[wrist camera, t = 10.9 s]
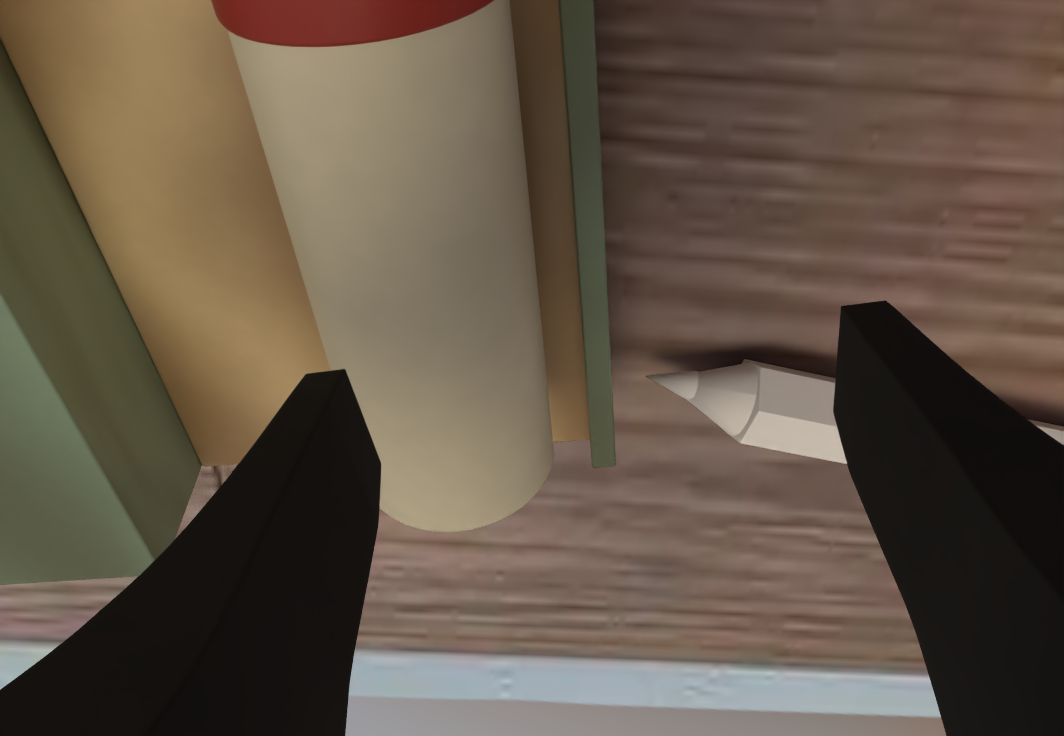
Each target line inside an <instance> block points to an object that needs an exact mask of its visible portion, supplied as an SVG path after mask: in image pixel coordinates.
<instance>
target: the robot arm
mask: <svg viewBox="0 0 1064 736" xmlns="http://www.w3.org/2000/svg"><path fill="white" fill-rule="evenodd" d="M833 413H834V417H835V421H836V425H837V429H838V432H839V436H840V440H841V444H842V447H843V451H844V454H845V458H846V461H847V465H848V468H849V472H850V474H851V477H852V479H853V482H854V484H855V487H856V489H857V492H858V494H859V496H860V499H861V501H862V503H863V506H864V508H865V511H866V513H867V515H868V518H869V520H870V522H871V525H872V527H873V529H874V532H875V534H876V537H877V539H878V541H879V544H880V546H881V548H882V551H883V553H884V555H885V558H886V560H887V562H888V565H889V567H890V569H891V572H892V574H893V576H894V579H895V581H896V583H897V586H898V588H899V590H900V593H901V595H902V597H903V600H904V602H905V605H906V607H907V610H908V613H909V615H910V618H911V621H912V623H913V626H914V629H915V631H916V634H917V638H918V641H919V644H920V648H921V651H922V654H923V657H924V661H925V664H926V667H927V670H928V674H929V677H930V680H931V684H932V687H933V690H934V693H935V697H936V700H937V704H938V707H939V711H940V714H941V718H942V721H943V724H944V728H945V732H946V735H947V736H1064V445H1063V444H1061V443H1060V442H1058V441H1057V440H1055V439H1054V438H1052V437H1051V436H1050V435H1048V434H1047V433H1045V432H1044V431H1043V430H1041V429H1040V428H1038V427H1037V426H1036V425H1034V424H1033V423H1032V422H1030V421H1029V420H1027V419H1026V418H1025V417H1023V416H1022V415H1020V414H1019V413H1018V412H1016V411H1015V410H1014V409H1012V408H1011V407H1010V406H1009V405H1007V404H1006V403H1005V402H1003V401H1002V400H1001V399H1000V398H998V397H997V396H996V395H995V394H993V393H992V392H991V391H990V390H989V389H987V388H986V387H985V386H984V385H982V384H981V383H980V382H979V381H977V380H976V379H975V378H974V377H973V376H971V375H970V374H969V373H968V372H966V371H965V370H964V369H963V368H962V367H961V366H959V365H958V364H957V363H956V362H955V361H954V360H952V359H951V358H950V357H949V356H948V355H947V354H946V353H944V352H943V351H942V350H941V349H940V348H939V347H938V346H936V345H935V344H934V343H933V342H932V341H931V340H930V339H929V338H927V337H926V336H925V335H924V334H923V333H922V332H921V331H920V330H919V329H917V328H916V327H915V326H914V325H913V324H912V323H911V322H910V321H909V320H907V319H906V318H905V317H904V316H903V315H902V314H901V313H900V312H899V311H897V310H896V309H895V308H894V307H893V306H892V305H890V304H889V303H888V302H887V301H878V302H870V303H863V304H855V305H847V306H841V315H840V328H839V341H838V354H837V367H836V380H835V393H834V405H833ZM380 487H381V461H380V459H379V456H378V453H377V451H376V448H375V446H374V443H373V440H372V438H371V435H370V432H369V430H368V427H367V425H366V422H365V419H364V417H363V414H362V412H361V409H360V406H359V404H358V401H357V398H356V396H355V393H354V391H353V388H352V385H351V383H350V380H349V377H348V375H347V372H346V370H345V369H340V370H332V371H324V372H316V373H308V374H305V376H304V377H303V378H302V379H301V381H300V382H299V383H298V385H297V386H296V387H295V389H294V390H293V391H292V393H291V394H290V395H289V397H288V398H287V399H286V401H285V402H284V404H283V405H282V406H281V408H280V409H279V410H278V412H277V413H276V414H275V416H274V417H273V419H272V420H271V421H270V423H269V424H268V425H267V427H266V428H265V430H264V431H263V432H262V434H261V435H260V436H259V438H258V439H257V440H256V442H255V443H254V444H253V446H252V447H251V448H250V450H249V451H248V452H247V454H246V455H245V456H244V457H243V459H242V460H241V461H240V463H239V464H238V465H237V467H236V468H235V469H234V471H233V472H232V473H231V474H230V476H229V477H228V478H227V480H226V481H225V482H224V483H223V484H222V486H221V487H220V488H219V489H218V490H217V492H216V493H215V494H214V495H213V496H212V498H211V499H210V500H209V501H208V502H207V503H206V505H205V506H204V507H203V508H202V509H201V511H200V512H199V513H198V514H197V515H196V517H195V518H194V519H193V520H192V521H191V522H190V524H189V525H188V526H187V527H186V528H185V529H184V530H183V531H182V532H181V534H180V535H179V536H178V537H177V538H176V539H175V540H174V541H173V542H172V543H171V544H170V545H169V546H168V547H167V548H166V549H165V551H164V552H163V553H162V554H161V555H160V556H159V557H157V558H156V559H155V560H154V561H153V562H152V563H151V564H150V565H149V566H148V567H147V568H146V569H145V570H144V571H143V572H142V573H141V574H140V575H139V576H138V577H137V578H136V579H135V580H134V581H133V582H132V583H131V584H130V585H129V586H128V587H127V588H126V589H124V590H123V591H122V592H121V593H120V594H119V595H118V596H116V597H115V598H114V599H113V600H112V601H111V602H110V603H108V604H107V605H106V606H105V607H104V608H103V609H102V610H100V611H99V612H98V613H97V614H96V615H95V616H94V617H93V618H91V619H90V620H89V621H88V622H87V623H86V624H85V625H83V626H82V627H81V628H80V629H79V630H78V631H76V632H75V633H74V634H73V635H72V636H70V637H69V638H68V639H67V640H65V641H64V642H63V643H62V644H60V645H59V646H58V647H57V648H55V649H54V650H53V651H51V652H50V653H49V654H48V655H46V656H45V657H44V658H43V659H41V660H40V661H39V662H37V663H36V664H35V665H33V666H32V667H31V668H29V669H28V670H27V671H25V672H24V673H22V674H21V675H20V676H18V677H17V678H16V679H14V680H13V681H12V682H10V683H9V684H8V685H6V686H5V687H3V688H2V689H1V690H0V736H345V729H346V718H347V706H348V694H349V683H350V676H351V670H352V663H353V656H354V651H355V645H356V640H357V635H358V630H359V625H360V619H361V614H362V609H363V604H364V599H365V593H366V588H367V583H368V578H369V573H370V567H371V562H372V556H373V551H374V546H375V540H376V534H377V529H378V521H379V506H380Z"/></svg>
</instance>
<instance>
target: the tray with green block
mask: <svg viewBox="0 0 1064 736" xmlns="http://www.w3.org/2000/svg"><path fill="white" fill-rule="evenodd" d="M510 10H511V20H512V30H513V40H514V51H515V61H516V71H517V81H518V91H519V101H520V112H521V122H522V132H523V142H524V152H525V163H526V173H527V183H528V193H529V203H530V213H531V224H532V234H533V244H534V254H535V264H536V274H537V285H538V295H539V305H540V315H541V325H542V335H543V346H544V356H545V366H546V376H547V386H548V396H549V407H550V417H551V427H552V437H553V442H563V441H577V440H590V446H591V458H592V466H593V468H599V467H614V466H615V465H616V458H615V437H614V416H613V395H612V374H611V353H610V332H609V311H608V289H607V268H606V247H605V226H604V205H603V184H602V163H601V142H600V121H599V99H598V78H597V57H596V36H595V15H594V0H510ZM324 371H331V370H330V367H329V363H328V360H327V357H326V353H325V350H324V347H323V343H322V340H321V337H320V334H319V330H318V327H317V324H316V320H315V317H314V314H313V310H312V307H311V304H310V301H309V297H308V294H307V291H306V287H305V284H304V281H303V278H302V274H301V271H300V268H299V264H298V261H297V258H296V254H295V251H294V248H293V245H292V241H291V238H290V235H289V231H288V228H287V225H286V222H285V218H284V215H283V212H282V208H281V205H280V202H279V198H278V195H277V192H276V189H275V185H274V182H273V179H272V175H271V172H270V169H269V166H268V162H267V159H266V156H265V152H264V149H263V146H262V142H261V139H260V136H259V133H258V129H257V126H256V123H255V119H254V116H253V113H252V110H251V106H250V103H249V100H248V96H247V93H246V90H245V86H244V83H243V80H242V77H241V73H240V70H239V67H238V63H237V60H236V57H235V54H234V50H233V47H232V44H231V40H230V37H229V34H228V30H227V29H226V28H225V27H224V26H223V25H222V24H221V23H220V22H219V20H218V18H217V17H216V14H215V11H214V8H213V5H212V1H211V0H0V585H7V584H22V583H38V582H54V581H70V580H85V579H101V578H117V577H133V576H139V575H140V574H141V573H142V572H143V571H144V570H145V569H146V568H147V567H148V566H149V565H150V564H151V563H152V562H153V561H154V560H155V559H156V558H157V557H159V556H160V555H161V554H162V553H163V552H164V551H165V549H166V548H167V547H168V546H169V545H170V544H171V543H172V542H173V541H174V540H175V537H176V535H177V532H178V529H179V526H180V524H181V521H182V518H183V515H184V513H185V510H186V507H187V505H188V502H189V499H190V496H191V494H192V491H193V488H194V485H195V483H196V480H197V477H198V474H199V472H200V469H201V466H205V467H206V466H220V465H234V464H239V463H240V461H241V460H242V459H243V457H244V456H245V455H246V454H247V452H248V451H249V450H250V448H251V447H252V446H253V444H254V443H255V442H256V440H257V439H258V438H259V436H260V435H261V434H262V432H263V431H264V430H265V428H266V427H267V425H268V424H269V423H270V421H271V420H272V419H273V417H274V416H275V414H276V413H277V412H278V410H279V409H280V408H281V406H282V405H283V404H284V402H285V401H286V399H287V398H288V397H289V395H290V394H291V393H292V391H293V390H294V389H295V387H296V386H297V385H298V383H299V382H300V381H301V379H302V378H303V377H304V376H305V374H308V373H316V372H324Z"/></svg>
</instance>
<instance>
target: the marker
mask: <svg viewBox="0 0 1064 736" xmlns="http://www.w3.org/2000/svg"><path fill="white" fill-rule="evenodd" d="M646 377H648V378H649V379H651V380H653V381H655V382H656V383H658V384H660V385H662V386H663V387H665V388H667V389H669V390H670V391H672V392H674V393H676V394H677V395H679V396H681V397H683V398H684V399H686V400H688V401H689V402H690V403H692V404H693V405H694V406H695V407H697V408H698V409H699V410H700V411H701V412H703V413H704V414H705V415H706V416H708V417H709V418H710V419H711V420H712V421H714V422H715V423H716V424H717V425H719V426H720V427H721V428H722V429H723V430H725V432H726V433H728V434H729V435H730V436H731V437H733V438H734V439H735V440H737V441H738V442H739V443H742V444H747V445H752V446H757V447H762V448H768V449H773V450H778V451H783V452H788V453H793V454H798V455H803V456H809V457H814V458H819V459H824V460H829V461H834V462H839V463H844V464H847V461H846V458H845V454H844V451H843V447H842V444H841V440H840V436H839V432H838V429H837V425H836V421H835V417H834V413H833V405H834V393H835V380H836V378H832V377H827V376H822V375H818V374H813V373H808V372H804V371H799V370H794V369H789V368H785V367H780V366H775V365H771V364H766V363H761V362H757V361H752V360H747V359H744V360H743V362H742V364H738V365H733V366H728V367H722V368H717V369H711V370H706V371H701V372H697V371H687V372H678V373H669V374H659V375H650V376H646ZM1027 420H1029V421H1030V422H1032V423H1033V424H1034V425H1036V426H1037V427H1038V428H1040V429H1041V430H1043V431H1044V432H1045V433H1047V434H1048V435H1050V436H1051V437H1052V438H1054V439H1055V440H1057V441H1058V442H1060V443H1061V444H1063V445H1064V427H1063V426H1058V425H1053V424H1049V423H1044V422H1039V421H1034V420H1030V419H1027Z"/></svg>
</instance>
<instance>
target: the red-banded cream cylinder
mask: <svg viewBox="0 0 1064 736" xmlns="http://www.w3.org/2000/svg"><path fill="white" fill-rule="evenodd" d="M211 1H212V5H213V8H214V11H215V14H216V17H217V18H218V20H219V22H220V23H221V24H222V25H223V26H224V27H225V28H226V29H227V30H228V34H229V37H230V40H231V44H232V47H233V50H234V54H235V57H236V60H237V63H238V67H239V70H240V73H241V77H242V80H243V83H244V86H245V90H246V93H247V96H248V100H249V103H250V106H251V110H252V113H253V116H254V119H255V123H256V126H257V129H258V133H259V136H260V139H261V142H262V146H263V149H264V152H265V156H266V159H267V162H268V166H269V169H270V172H271V175H272V179H273V182H274V185H275V189H276V192H277V195H278V198H279V202H280V205H281V208H282V212H283V215H284V218H285V222H286V225H287V228H288V231H289V235H290V238H291V241H292V245H293V248H294V251H295V254H296V258H297V261H298V264H299V268H300V271H301V274H302V278H303V281H304V284H305V287H306V291H307V294H308V297H309V301H310V304H311V307H312V310H313V314H314V317H315V320H316V324H317V327H318V330H319V334H320V337H321V340H322V343H323V347H324V350H325V353H326V357H327V360H328V363H329V367H330V370H331V371H332V370H340V369H345V370H346V372H347V375H348V377H349V380H350V383H351V385H352V388H353V391H354V393H355V396H356V398H357V401H358V404H359V406H360V409H361V412H362V414H363V417H364V419H365V422H366V425H367V427H368V430H369V432H370V435H371V438H372V440H373V443H374V446H375V448H376V451H377V453H378V456H379V459H380V461H381V487H380V506H379V508H380V509H381V510H383V511H384V512H385V513H386V514H388V515H389V516H390V517H392V518H394V519H395V520H397V521H399V522H401V523H403V524H406V525H408V526H410V527H414V528H418V529H421V530H427V531H434V532H457V531H465V530H471V529H476V528H480V527H483V526H487V525H489V524H492V523H495V522H497V521H500V520H502V519H503V518H505V517H507V516H509V515H511V514H513V513H514V512H516V511H517V510H519V509H520V508H522V507H523V506H524V505H525V504H526V503H527V502H529V501H530V500H531V499H532V498H533V497H534V495H535V494H536V493H537V492H538V491H539V489H540V488H541V487H542V485H543V484H544V482H545V480H546V478H547V476H548V474H549V472H550V469H551V466H552V462H553V454H554V450H553V437H552V427H551V417H550V407H549V396H548V386H547V376H546V366H545V356H544V346H543V335H542V325H541V315H540V305H539V295H538V285H537V274H536V264H535V254H534V244H533V234H532V224H531V213H530V203H529V193H528V183H527V173H526V163H525V152H524V142H523V132H522V122H521V112H520V101H519V91H518V81H517V71H516V61H515V51H514V40H513V30H512V20H511V10H510V0H211Z"/></svg>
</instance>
